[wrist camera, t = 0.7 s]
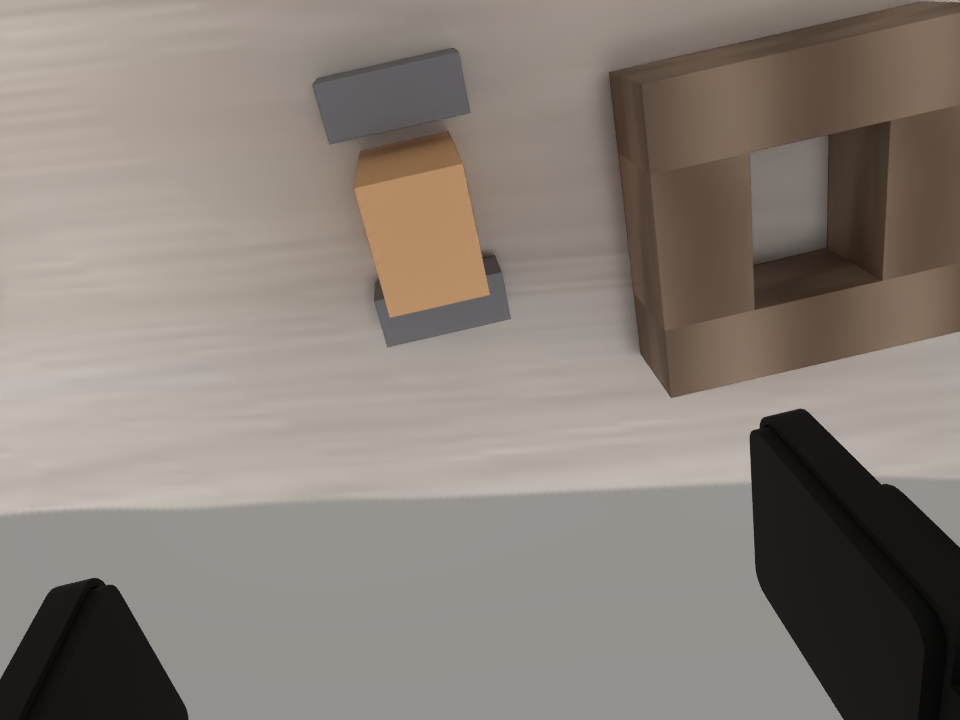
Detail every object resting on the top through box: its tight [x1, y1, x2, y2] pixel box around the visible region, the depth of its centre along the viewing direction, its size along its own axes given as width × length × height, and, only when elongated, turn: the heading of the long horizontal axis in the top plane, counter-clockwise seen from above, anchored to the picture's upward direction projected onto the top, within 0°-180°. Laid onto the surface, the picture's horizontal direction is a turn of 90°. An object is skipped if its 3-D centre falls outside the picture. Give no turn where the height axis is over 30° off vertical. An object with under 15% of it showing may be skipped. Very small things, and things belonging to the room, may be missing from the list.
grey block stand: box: [313, 48, 511, 347], centre depth 28 cm, size 5×10×2 cm, turn 11°
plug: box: [354, 131, 490, 318], centre depth 27 cm, size 3×4×6 cm
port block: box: [609, 2, 960, 398], centre depth 29 cm, size 12×12×4 cm
